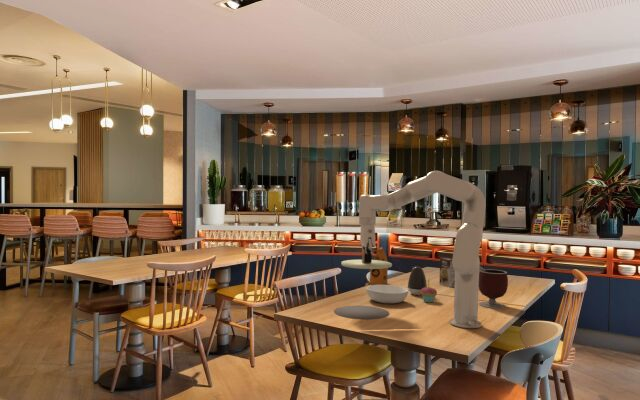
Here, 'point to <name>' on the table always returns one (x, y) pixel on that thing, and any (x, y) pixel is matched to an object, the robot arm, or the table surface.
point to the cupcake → (428, 293)
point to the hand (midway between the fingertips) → (366, 261)
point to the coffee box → (447, 272)
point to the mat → (361, 312)
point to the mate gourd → (492, 286)
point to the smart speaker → (416, 281)
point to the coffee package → (379, 270)
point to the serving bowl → (387, 293)
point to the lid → (362, 265)
